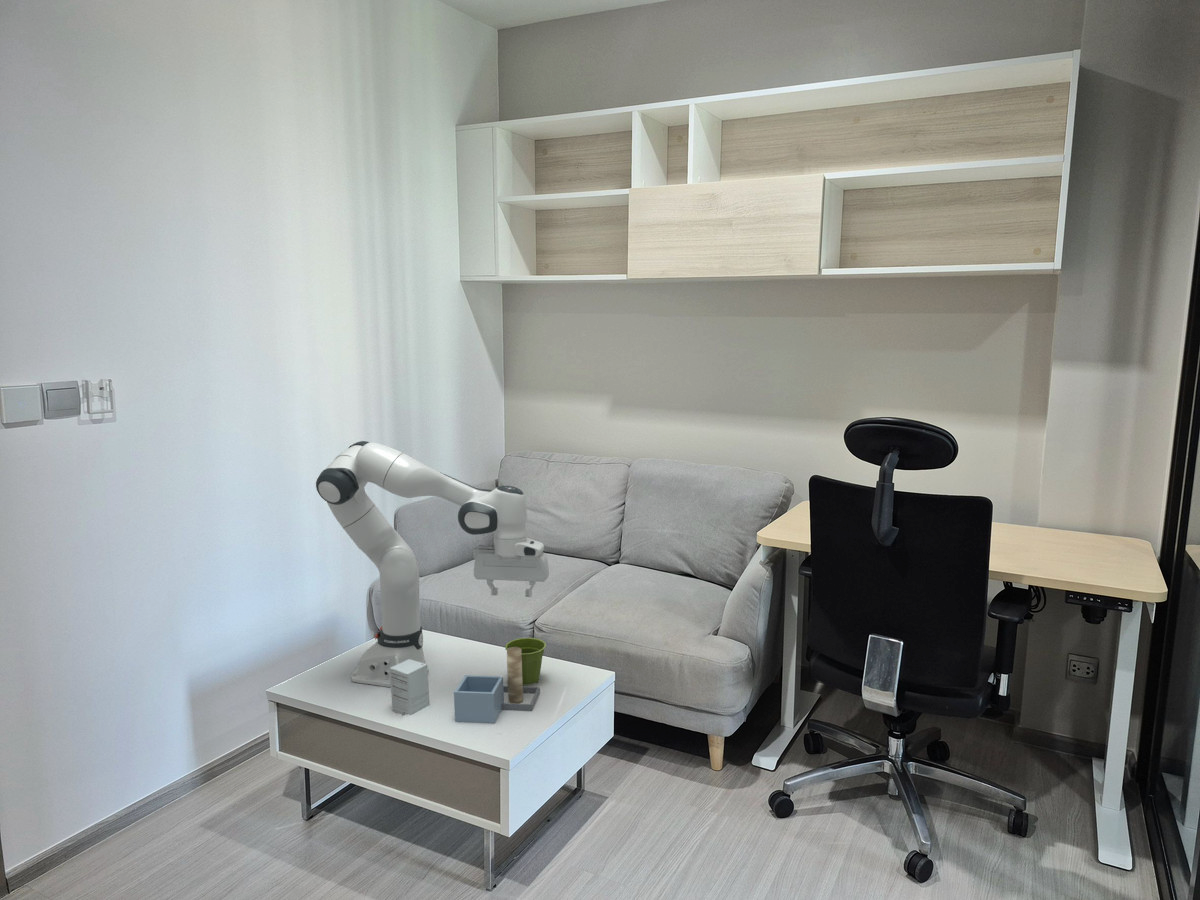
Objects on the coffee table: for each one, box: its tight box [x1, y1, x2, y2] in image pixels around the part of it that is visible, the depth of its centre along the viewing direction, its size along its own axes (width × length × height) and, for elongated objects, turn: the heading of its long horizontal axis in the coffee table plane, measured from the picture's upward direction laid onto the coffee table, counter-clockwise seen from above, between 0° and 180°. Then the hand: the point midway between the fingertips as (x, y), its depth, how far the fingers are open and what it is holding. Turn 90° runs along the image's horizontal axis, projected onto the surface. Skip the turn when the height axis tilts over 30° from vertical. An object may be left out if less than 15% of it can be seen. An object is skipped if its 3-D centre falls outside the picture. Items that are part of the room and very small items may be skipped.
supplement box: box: [390, 659, 430, 716], centre depth 228 cm, size 7×7×13 cm
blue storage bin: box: [453, 674, 505, 725], centre depth 223 cm, size 11×11×9 cm
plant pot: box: [504, 637, 547, 686], centre depth 244 cm, size 12×12×11 cm
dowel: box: [506, 647, 524, 704], centre depth 230 cm, size 4×4×15 cm
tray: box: [501, 685, 541, 712], centre depth 231 cm, size 11×11×2 cm
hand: (511, 595), depth 227 cm, fingers open, 8 cm apart
